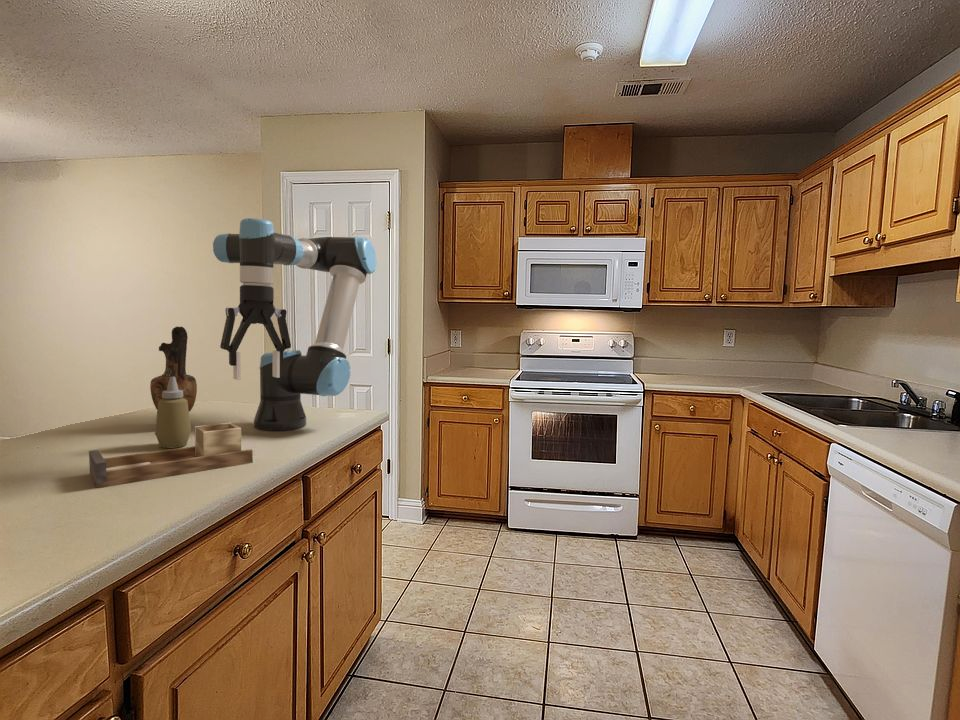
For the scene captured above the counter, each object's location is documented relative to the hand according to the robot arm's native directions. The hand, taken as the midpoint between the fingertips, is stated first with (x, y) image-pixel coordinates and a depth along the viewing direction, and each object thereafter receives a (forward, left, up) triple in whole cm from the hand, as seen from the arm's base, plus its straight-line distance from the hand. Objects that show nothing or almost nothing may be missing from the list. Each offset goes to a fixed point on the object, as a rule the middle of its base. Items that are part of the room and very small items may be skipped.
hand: (256, 377), depth 128 cm
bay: (+18, 0, -19) cm, 26 cm away
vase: (+9, -41, -20) cm, 46 cm away
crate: (+9, 0, -18) cm, 20 cm away
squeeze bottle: (+14, -20, -20) cm, 31 cm away
